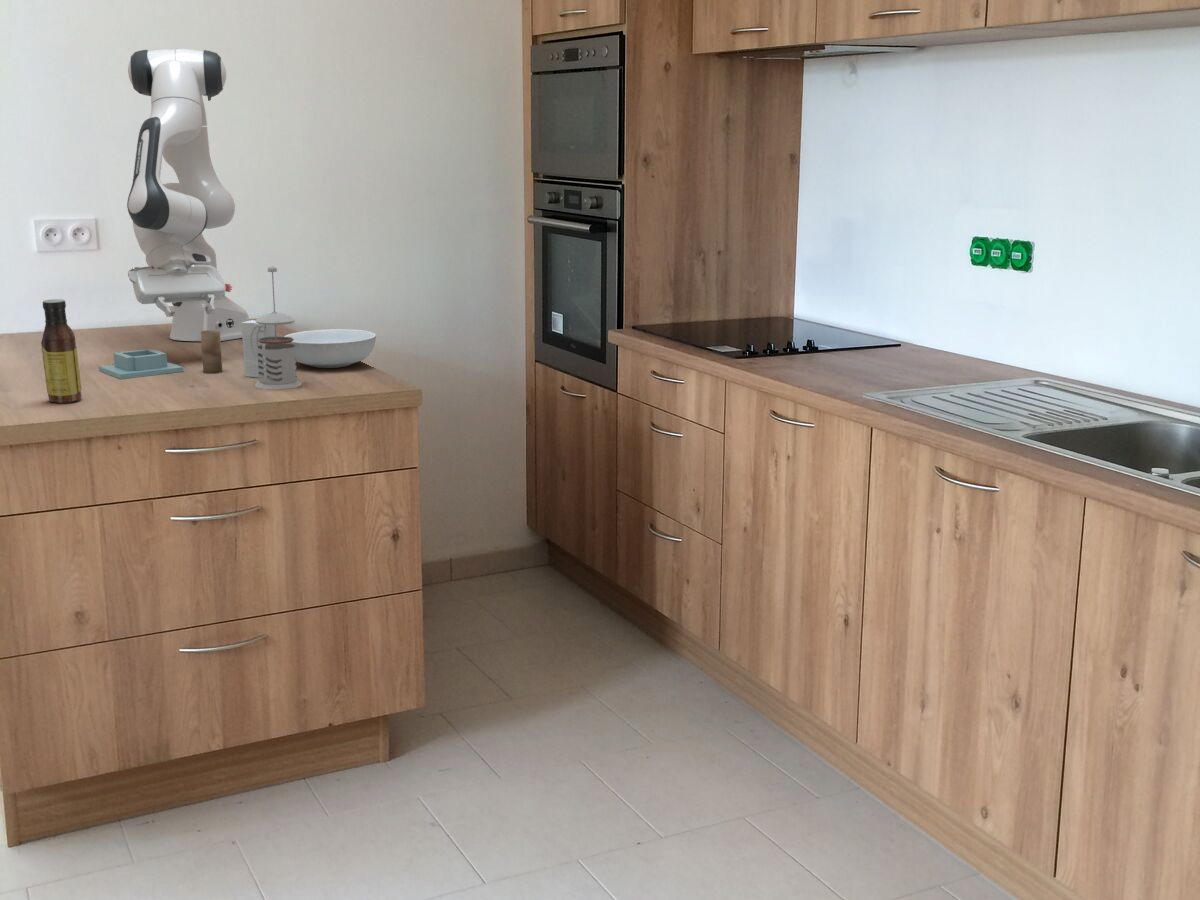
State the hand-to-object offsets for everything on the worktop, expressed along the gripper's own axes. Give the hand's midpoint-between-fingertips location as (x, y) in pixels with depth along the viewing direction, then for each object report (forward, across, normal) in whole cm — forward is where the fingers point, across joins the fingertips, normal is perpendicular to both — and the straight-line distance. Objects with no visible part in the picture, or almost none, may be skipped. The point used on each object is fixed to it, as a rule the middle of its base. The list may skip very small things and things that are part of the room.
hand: (191, 313), depth 275 cm
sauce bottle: (+23, -36, -4) cm, 42 cm away
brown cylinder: (+14, +1, +3) cm, 15 cm away
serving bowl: (+20, +26, -3) cm, 33 cm away
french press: (+29, +4, -12) cm, 32 cm away
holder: (+7, -11, +10) cm, 17 cm away
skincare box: (+22, +6, -5) cm, 24 cm away
